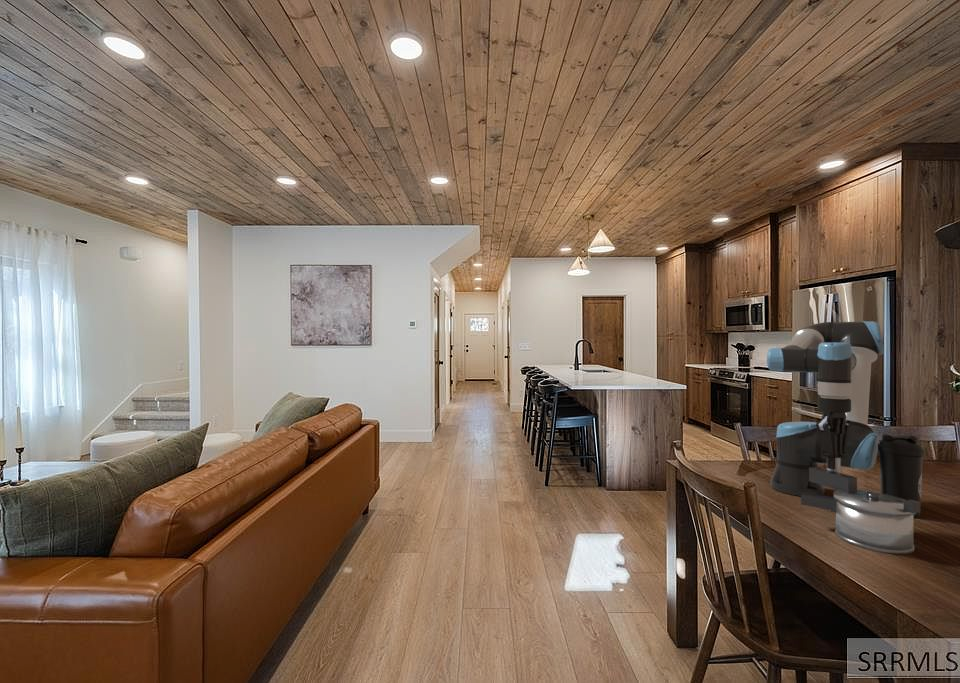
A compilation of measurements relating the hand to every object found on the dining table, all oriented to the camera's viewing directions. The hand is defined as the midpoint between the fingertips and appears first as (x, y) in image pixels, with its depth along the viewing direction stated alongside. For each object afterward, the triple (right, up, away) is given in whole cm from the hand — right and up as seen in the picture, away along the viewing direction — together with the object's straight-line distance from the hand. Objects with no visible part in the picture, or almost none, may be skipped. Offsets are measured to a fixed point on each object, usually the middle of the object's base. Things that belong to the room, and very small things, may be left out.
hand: (833, 480), depth 129 cm
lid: (0, -2, -9) cm, 9 cm away
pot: (-2, -12, -10) cm, 15 cm away
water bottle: (+26, -12, +7) cm, 29 cm away
